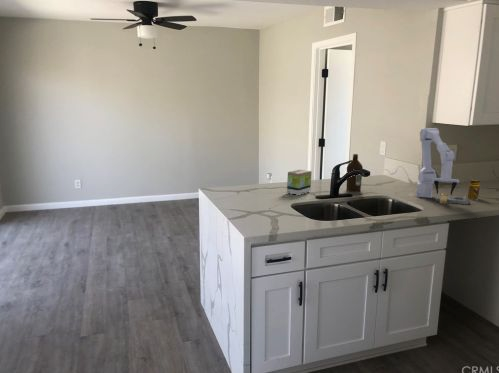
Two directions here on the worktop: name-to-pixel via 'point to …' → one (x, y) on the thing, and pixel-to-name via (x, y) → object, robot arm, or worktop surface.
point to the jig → (454, 199)
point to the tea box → (299, 182)
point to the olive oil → (355, 181)
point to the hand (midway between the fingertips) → (444, 193)
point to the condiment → (473, 189)
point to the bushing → (443, 198)
